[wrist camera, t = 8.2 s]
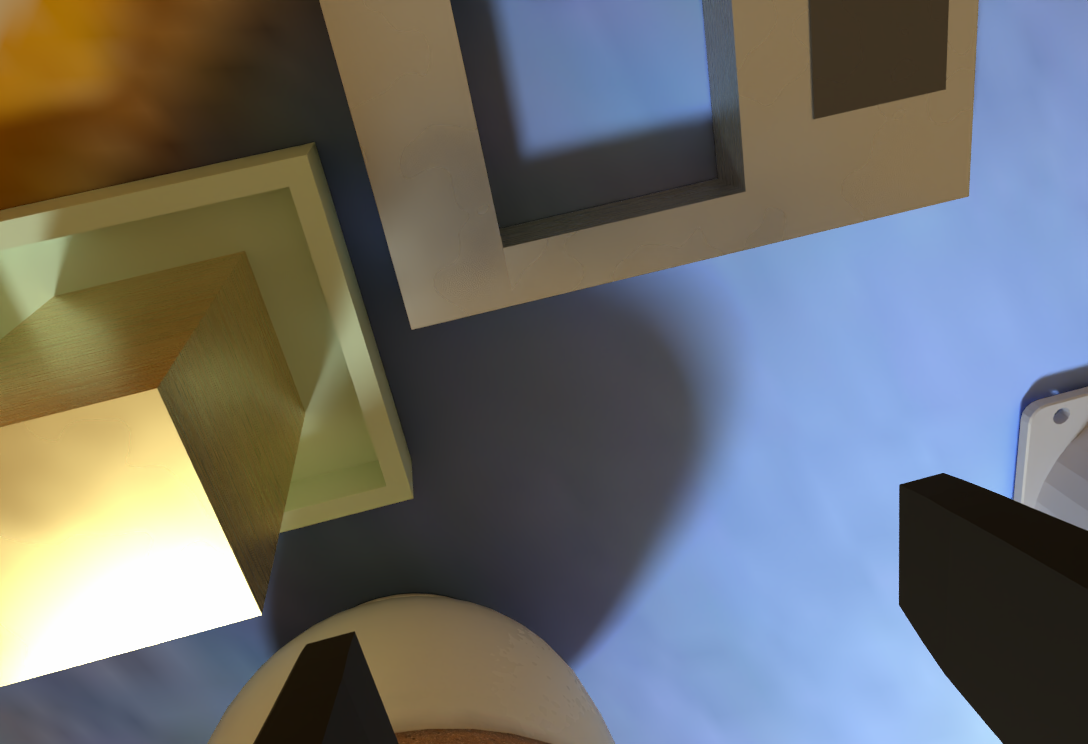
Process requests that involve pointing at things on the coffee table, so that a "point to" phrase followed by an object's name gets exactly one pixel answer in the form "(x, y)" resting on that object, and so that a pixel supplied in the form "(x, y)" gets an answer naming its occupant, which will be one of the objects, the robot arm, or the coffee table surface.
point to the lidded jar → (441, 677)
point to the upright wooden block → (140, 464)
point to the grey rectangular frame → (681, 213)
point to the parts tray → (284, 282)
